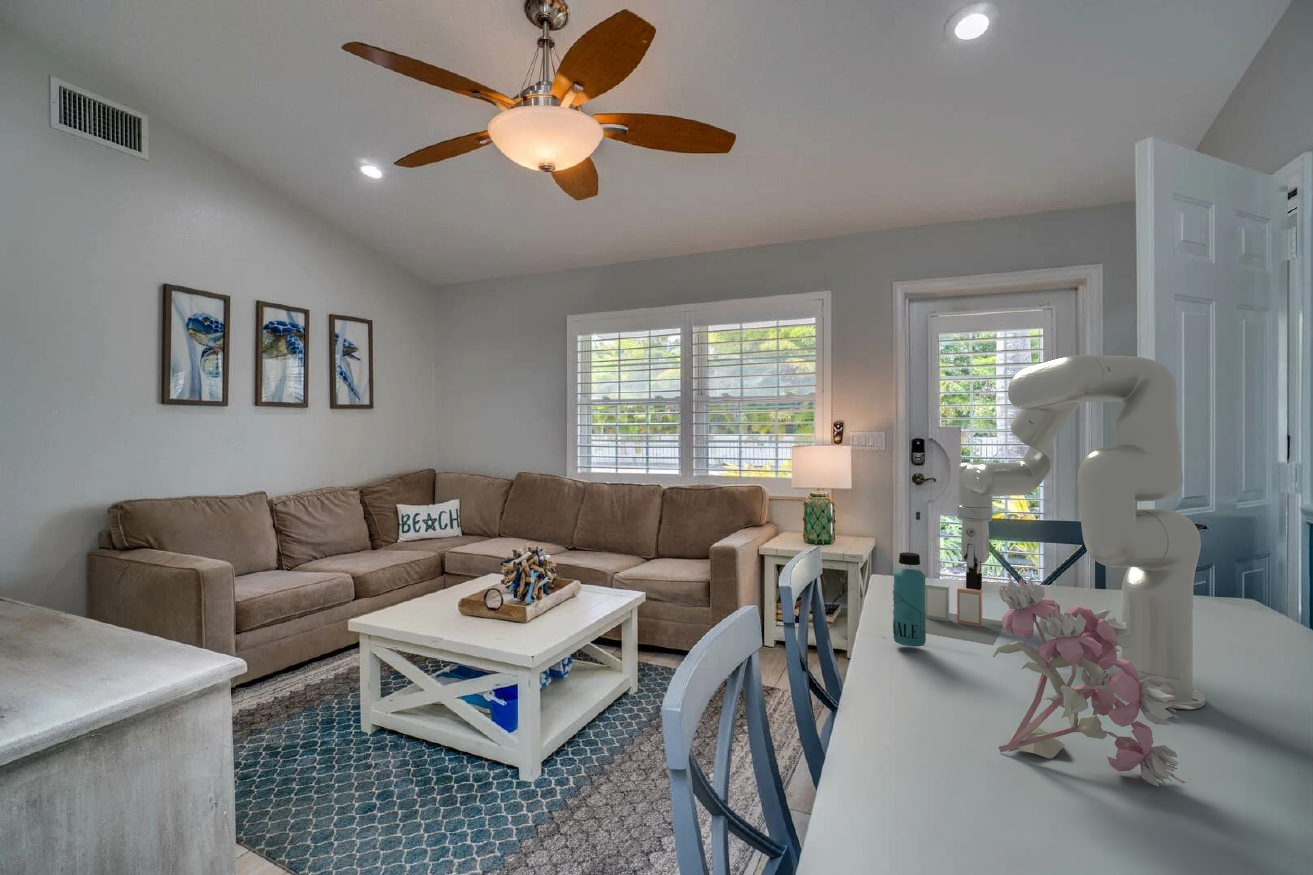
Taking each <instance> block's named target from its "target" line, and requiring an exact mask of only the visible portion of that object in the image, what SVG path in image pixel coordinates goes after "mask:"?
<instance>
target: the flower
mask: <svg viewBox="0 0 1313 875" xmlns="http://www.w3.org/2000/svg"><path fill="white" fill-rule="evenodd" d="M1011 575H1012V574H1011V573H1009V572H1007V577H1008V580H1009V582H1008V585H1005V584H1004V585H1003V586H1001V585H1000V588H999V593H998V594H999V596H1000V599H1001V600H1002V602H1004V603H1006V605H1007V606H1008V608H1009V610H1007V612H1006V613H1005V614H1004V615H1003V616H1002V618H1001V619H1002V620H1001V621H1002V623H1003V628H1002V629H1004V631H1005V632H1006V633H1010V634H1013V632H1014V633H1015V635H1018V636H1021V637H1023V638H1029V637H1034V631H1035V630H1034V624H1035V627H1036V629H1037V631H1038V634H1039V636H1040V639H1041V641H1042V644H1041V645H1040V647H1039V649H1038V648H1036V647H1034V646H1032V645H1030V644H1028V643H1026V642H1025V641H1023V640H1022V641H1019V640H1018V641H1017V640H1016V641H1014V642H1011V643H1008V644H1005V645H1002V646H999V647H996V649H995V651H994V653H993V656H992V658H995V657H996V656H998V654H999V653H1001V654H1008V655H1009V654H1012V653H1013V654H1014V653H1017V652H1020V651H1022V652H1024V654H1026V655H1027V656H1028V657H1029V658H1030V659H1031V660H1032V661H1026V662H1025V664H1024V665H1023V666H1022V667H1021V669H1022V670H1024V669H1026V668H1027V669H1029V670H1030V671H1032V672H1035V673H1041V675H1040V678H1039V682H1038V684H1037V689H1036V692H1035V695H1034V698H1033V700H1032V702H1031V705H1030V707H1029V708H1028V710H1027V711H1026V714H1024V717H1023V719H1022V720H1021V722H1020V723H1019V725H1018V726H1017V727H1016V729H1015V730H1014V731H1013V732H1012V733H1011V734H1010V736H1009V743H1007V744H1004V745H1000V746H997V748H998V751H999V752H1000V753H1004V752H1007V753H1009V752H1014V751H1021V752H1026V753H1032V754H1035V755H1037V756H1039V757H1043V758H1045V759H1047V760H1048V759H1049V760H1051V759H1052V758H1055V757H1056V756H1057V755H1058V754H1059V753H1060V752H1061V750H1063V748H1064V747H1065V745H1066V744H1065V743H1064V742H1063V740H1061V738H1060V737H1061V736H1062V737H1063V736H1065V735H1069V734H1072V733H1081V734H1083V735H1084V736H1086V737H1087V738H1092V739H1098V740H1103V739H1105V738H1107V737H1108V736H1111V737H1114V738H1115V742H1114V745H1115V747H1116V749H1117V750H1116V752H1115V758H1113V757H1110V756H1108V755H1106V758H1107V761H1108V764H1109V766H1110V767H1111V768H1113V769H1115V770H1116V771H1118V772H1127V771H1128V772H1129V771H1132V770H1133V769H1135V768H1136V767H1137V766H1138V765H1140V775H1141V776H1140V777H1141V778H1142V779H1143V780H1144V781H1146V783H1148V784H1151V785H1153V786H1156V787H1160V785H1159V783H1158V780H1160V781H1161V782H1162V783H1163V784H1164V785H1165V786H1167V784H1166V782H1165V780H1169V781H1170V782H1171V783H1173V780H1172V779H1171V778H1173V779H1175V780H1176V781H1178V782H1179V783H1182V784H1185V783H1187V782H1186V781H1185V780H1182V779H1180V778H1179V777H1178V776H1175V774H1173V773H1172V772H1174V771H1175V770H1178V769H1179V768H1177V767H1178V764H1180V762H1178V761H1177V760H1175V759H1174V758H1178V754H1177V752H1176V751H1175V750H1173V749H1172V748H1170V747H1168V746H1167V745H1165V744H1163V745H1155V746H1153V745H1154V742H1155V741H1154V738H1153V730H1152V729H1151V727H1150V726H1148V725H1147V724H1144V723H1142V722H1141V721H1139V720H1136V719H1137V718H1138V715H1139V711H1141V712H1142V714H1143V716H1144V718H1145V719H1146V720H1148V721H1149V722H1151V723H1153V724H1154V725H1161V726H1170V723H1169V722H1167V721H1166V720H1167V719H1169V718H1171V717H1174V718H1175V719H1176V720H1180V718H1179V717H1180V716H1179V715H1178V714H1176V713H1177V711H1176V710H1177V709H1175V708H1168V707H1170V706H1173V707H1178V708H1184V709H1183V710H1196V709H1197V708H1193V707H1191V706H1186V705H1179V704H1173V703H1171V702H1169V701H1168V700H1170V701H1177V700H1175V699H1171V698H1173V697H1174V696H1172V695H1176V692H1177V691H1174V692H1172V691H1171V688H1170V687H1168V686H1167V685H1166V684H1167V683H1170V682H1172V680H1169V679H1166V678H1163V677H1160V676H1149V677H1148V678H1146V679H1145V680H1144V681H1143V682H1142V683H1140V680H1139V676H1138V673H1137V670H1136V669H1135V667H1134V666H1133V664H1132V663H1131V662H1130V661H1128V660H1123V659H1121V658H1118V659H1117V656H1118V654H1117V653H1118V652H1121V650H1120V649H1118V648H1117V646H1119V647H1120V648H1121V647H1122V648H1124V649H1125V648H1130V645H1131V643H1132V641H1133V640H1132V639H1130V638H1125V636H1127V637H1129V636H1130V635H1127V634H1128V633H1127V631H1128V628H1129V624H1128V623H1127V622H1123V623H1121V622H1117V618H1116V617H1113V618H1112V619H1110V618H1108V620H1106V617H1107V616H1108V615H1109V613H1110V612H1111V610H1110V609H1108V608H1106V609H1103V610H1101V611H1099V612H1097V613H1094V612H1093V610H1092V609H1090V608H1088V607H1085V606H1082V605H1079V606H1073V607H1072V606H1071V607H1067V609H1066V611H1065V613H1064V614H1063V613H1061V606H1060V604H1058V603H1057V602H1056V601H1055V600H1054V599H1051V598H1045V596H1046V593H1045V588H1044V587H1043V586H1042V585H1041V584H1034V582H1033V581H1032V579H1031V577H1029V578H1028V580H1027V581H1026V580H1025V579H1023V578H1020V580H1019V581H1018V583H1019V586H1018V585H1016V583H1015V582H1014V581H1013V580H1012V578H1011ZM1037 617H1038V618H1039V621H1037ZM1045 635H1048V636H1051V637H1054V638H1053V639H1050V640H1047V641H1046V638H1045ZM1070 666H1071V675H1070V677H1069V679H1068V681H1067V683H1066V682H1065V680H1064V678H1062V676H1061V675H1060V673H1059V671H1058V670H1057V669H1058V668H1066V667H1070ZM1113 666H1115V667H1117V668H1119V669H1120V670H1121V669H1122V670H1123V671H1119V672H1116V673H1114V671H1111V672H1110V673H1106V672H1107V670H1110V669H1111V668H1112V667H1113ZM1077 667H1078V668H1081V669H1082V668H1083V669H1082V674H1081V679H1080V680H1081V681H1082V682H1083V683H1084V684H1082V685H1077V686H1074V687H1072V685H1073V683H1074V681H1075V679H1076V675H1077V674H1076V673H1077ZM1021 669H1020V670H1021ZM1088 674H1089V675H1088ZM1048 680H1049V681H1050V684H1051V685H1052V687H1053V689H1054V691H1055V694H1049V695H1048V696H1046V697H1044V698H1043V695H1044V692H1045V689H1046V685H1047V681H1048ZM1114 694H1115V695H1116V696H1117V697H1116V696H1115V695H1114ZM1171 694H1172V695H1171ZM1089 698H1090V699H1091V700H1090V701H1091V708H1092V709H1093V712H1092V714H1089V715H1086V716H1084V717H1080V720H1079V718H1078V716H1079V713H1081V712H1084V711H1085V710H1087V709H1088V708H1089V703H1088V701H1087V700H1088V699H1089ZM1042 700H1048V701H1049V700H1050V701H1051V702H1052V703H1051V704H1049V705H1048V706H1047V707H1046V708H1045V709H1044V710H1043V711H1042V712H1040V714H1039V715H1038V716H1036V717H1035V719H1033V720H1032V718H1033V716H1034V714H1035V712H1036V711H1037V710H1038V707H1039V706H1040V704H1041V702H1042ZM1121 700H1122V701H1121ZM1123 701H1124V702H1128V704H1125V703H1124V702H1123ZM1059 707H1062V708H1063V709H1064V711H1063V713H1062V715H1061V717H1060V719H1063V718H1066V717H1068V718H1067V719H1068V722H1069V726H1070V727H1069V728H1065V729H1061V730H1059V731H1054V732H1052V731H1051V730H1049V729H1046V728H1044V727H1042V726H1040V725H1042V723H1043V722H1045V720H1046V719H1048V717H1049V716H1050V715H1051V714H1052V713H1054V712H1055V710H1056V709H1058V708H1059ZM1114 707H1115V708H1114ZM1167 709H1168V710H1167ZM1169 710H1170V711H1172V712H1174V714H1173V713H1172V712H1170V711H1169ZM1098 715H1100V716H1103V717H1104V716H1108V717H1109V719H1110V721H1112V722H1113V724H1115V725H1117V726H1119V727H1121V728H1124V727H1128V726H1130V725H1131V728H1132V730H1131V731H1130V732H1131V733H1132V735H1133V737H1134V738H1135V739H1134V738H1133V737H1131V736H1121V735H1120V736H1119V735H1116V734H1115V733H1114V732H1112V731H1107V730H1104V729H1103V728H1102V724H1103V722H1102V721H1101V720H1100V719H1099V717H1098ZM1031 720H1032V721H1031ZM1030 721H1031V722H1030ZM1170 771H1171V772H1170ZM1169 777H1171V778H1169ZM1157 779H1158V780H1157Z"/></svg>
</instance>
